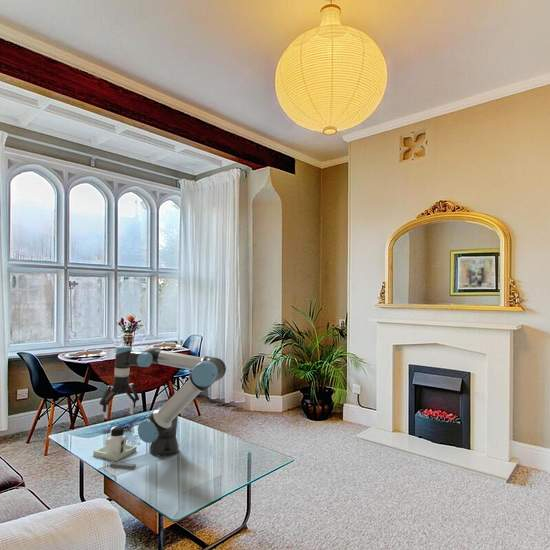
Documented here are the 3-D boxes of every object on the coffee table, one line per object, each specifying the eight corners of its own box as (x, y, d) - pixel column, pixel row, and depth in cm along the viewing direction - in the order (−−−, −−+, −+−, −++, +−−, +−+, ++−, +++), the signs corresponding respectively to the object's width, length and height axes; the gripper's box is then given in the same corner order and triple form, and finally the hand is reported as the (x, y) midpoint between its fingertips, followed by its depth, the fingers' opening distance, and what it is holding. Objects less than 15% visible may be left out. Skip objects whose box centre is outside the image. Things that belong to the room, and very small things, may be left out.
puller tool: (135, 467, 201) (136, 464, 201) (133, 469, 199) (133, 466, 199) (112, 464, 202) (112, 461, 202) (109, 466, 200) (110, 463, 200)
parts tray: (136, 451, 220) (136, 446, 220) (116, 461, 206) (117, 456, 206) (113, 445, 225) (113, 441, 225) (93, 455, 211) (93, 450, 211)
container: (125, 450, 219) (127, 425, 219) (118, 455, 211) (120, 430, 212) (111, 448, 220) (114, 424, 220) (104, 454, 212) (106, 429, 213)
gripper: (141, 372, 228) (138, 410, 227) (94, 376, 212) (91, 417, 211) (147, 374, 222) (144, 414, 221) (99, 379, 206) (96, 421, 205)
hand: (118, 416), depth 216 cm, fingers open, 13 cm apart
